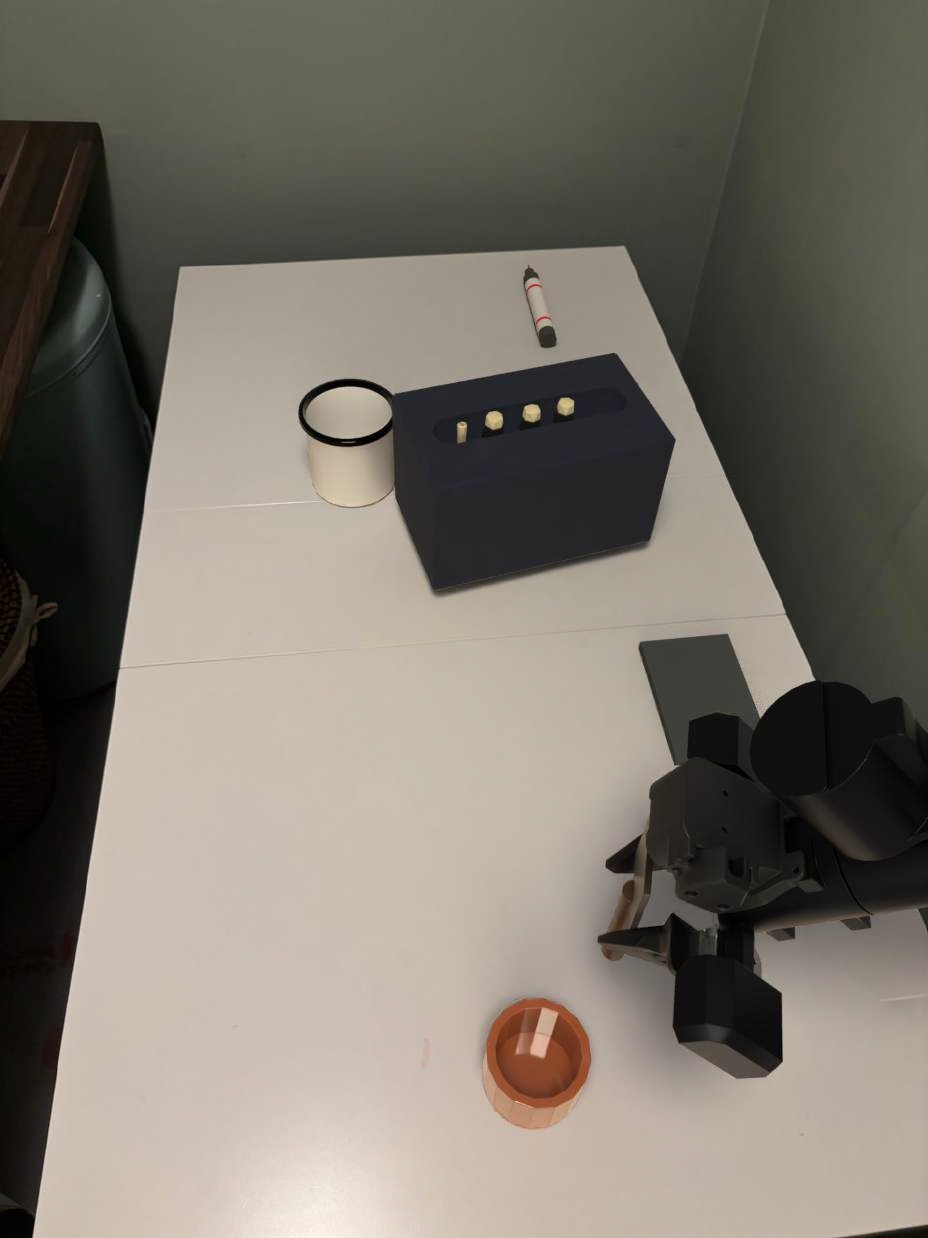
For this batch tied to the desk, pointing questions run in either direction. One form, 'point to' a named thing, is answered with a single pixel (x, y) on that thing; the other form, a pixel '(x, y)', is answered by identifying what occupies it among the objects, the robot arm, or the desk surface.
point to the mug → (349, 440)
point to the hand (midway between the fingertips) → (605, 903)
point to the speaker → (527, 468)
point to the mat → (695, 684)
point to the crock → (535, 1063)
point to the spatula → (632, 896)
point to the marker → (539, 308)
